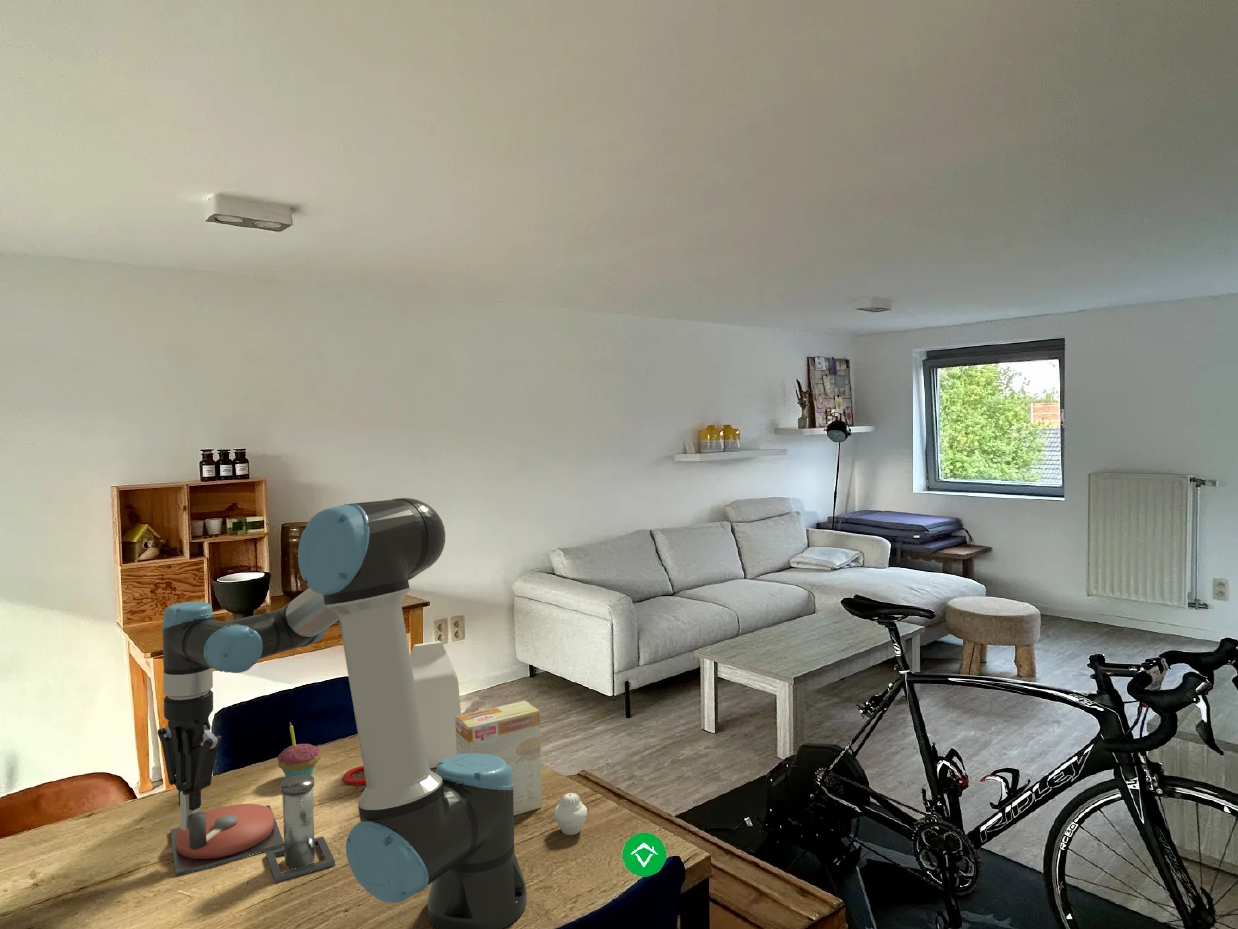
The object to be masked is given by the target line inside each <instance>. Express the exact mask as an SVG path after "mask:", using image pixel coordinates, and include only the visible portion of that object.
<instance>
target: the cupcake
mask: <svg viewBox="0 0 1238 929" xmlns="http://www.w3.org/2000/svg"><path fill="white" fill-rule="evenodd" d="M289 732H290V737H291V742H292V745H289V746H288V747H286V748H284V749H283V751H281V752H280V754H279V755H278V756H277V757H276V758H277V760H276V761H277V766H278V767H279V769H281V771H282V772H283V774H284V776H285V779H287V778H289V777H292V776H297V775H310V776H312V777H313V771H314V768H315V766H316V764H317V763H318V762H319V760H320V761H321V758H322V753H321V750H320V749H319V747H316V746H315V745H313V744H310V743H298V744H296V737H295V731H294V726H293V725H292V723H291V722H289Z"/></svg>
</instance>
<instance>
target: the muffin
mask: <svg viewBox="0 0 1238 929" xmlns="http://www.w3.org/2000/svg"><path fill="white" fill-rule="evenodd" d="M587 815H588V808H587V807H586V805H585V804H583V802H582V801H581V797H580V796H579V795H578V794H577V793H573V792H569V793H565V794H563V795H562V796H561V798H560V801H559V803H558V804H557V805H556V807H555V808H554V818H555V822H556V823H557V824H558V825H557V826H558V827H559V829H560V830H561V832H562V834H564V835H565V836H574V835H576V834H578V833H580V831H581V829H582V828H583V825H584V824H585V822H586V818H587Z"/></svg>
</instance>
